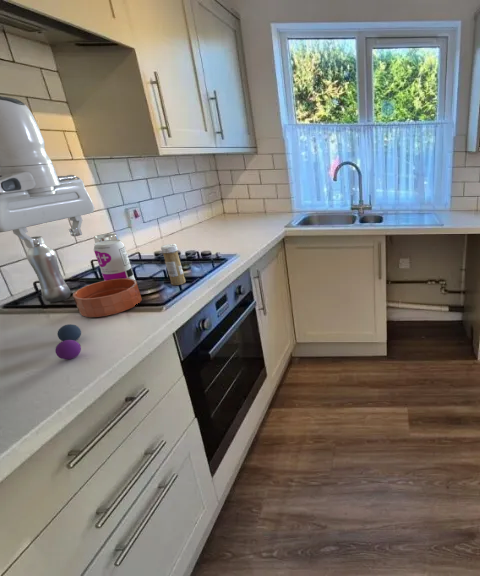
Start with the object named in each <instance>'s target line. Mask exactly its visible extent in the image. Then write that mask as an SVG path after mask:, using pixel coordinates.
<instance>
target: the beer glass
mask: <svg viewBox="0 0 480 576" xmlns="http://www.w3.org/2000/svg"><path fill="white" fill-rule="evenodd" d="M106 240H120V239H119V237H118V235H117V233H115V232H109V233H108V232H107V233H101V234H97V235H94V236H93V241H94V244H95V243H97V242H101V241H106Z"/></svg>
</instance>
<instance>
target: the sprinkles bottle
mask: <svg viewBox="0 0 480 576" xmlns="http://www.w3.org/2000/svg"><path fill="white" fill-rule="evenodd" d="M160 250H161V253H162V255H163V259H164V263H165V267H166V270H167V273H168V276H169V279H170V284H171V286H180V285H183V284H186V282H187V280H186V277H185V274H184V270H183V266H182V263H181V258H180V255H179V252H178V250H179V249H178V246H177V244H176V243H168V244H164V245H161V246H160Z"/></svg>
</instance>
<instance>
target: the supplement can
mask: <svg viewBox="0 0 480 576" xmlns="http://www.w3.org/2000/svg"><path fill="white" fill-rule="evenodd" d="M93 245H94V247H93V252H94V255H95V257H96V260H97V264H98V266H99V269H100V272H101V275H102V278H103V281H106V280H112V279H124V278H128V279H134V280H135V281H136V278H135V275H134V271H133V268H132V265H131V262H130V261H131V260H130V257H129V255H128V252H127V250H126V249H127V248H126V246H125V244H124V243H123V242H122V240H120V239H119V240H106V241H101V242H97V243H95V242H94V244H93Z"/></svg>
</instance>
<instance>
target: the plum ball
mask: <svg viewBox="0 0 480 576" xmlns="http://www.w3.org/2000/svg"><path fill="white" fill-rule="evenodd" d="M54 350H55V355H56V356H57V357H58V358H59V359H61V360H72V359H75V358H76V357H78V356H79V355H80V354H81V352H82V346H81V344H80V343H79V342H78V341H77V340H76V341H74V340H65V341H61V342H59V343H58V344H56V347H55V349H54Z"/></svg>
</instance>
